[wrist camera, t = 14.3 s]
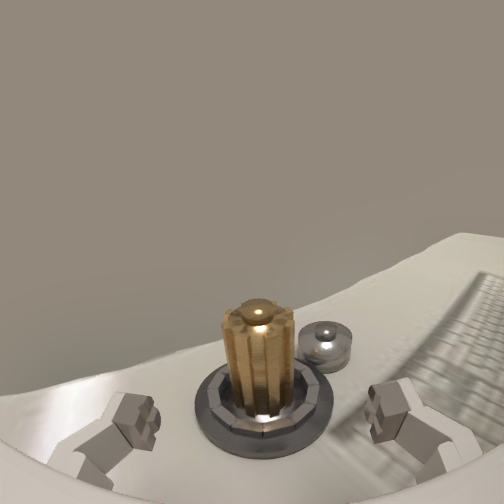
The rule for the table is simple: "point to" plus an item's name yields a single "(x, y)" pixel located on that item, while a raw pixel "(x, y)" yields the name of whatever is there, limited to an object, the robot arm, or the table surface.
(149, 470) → the table surface
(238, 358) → the gear
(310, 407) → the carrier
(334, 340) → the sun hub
